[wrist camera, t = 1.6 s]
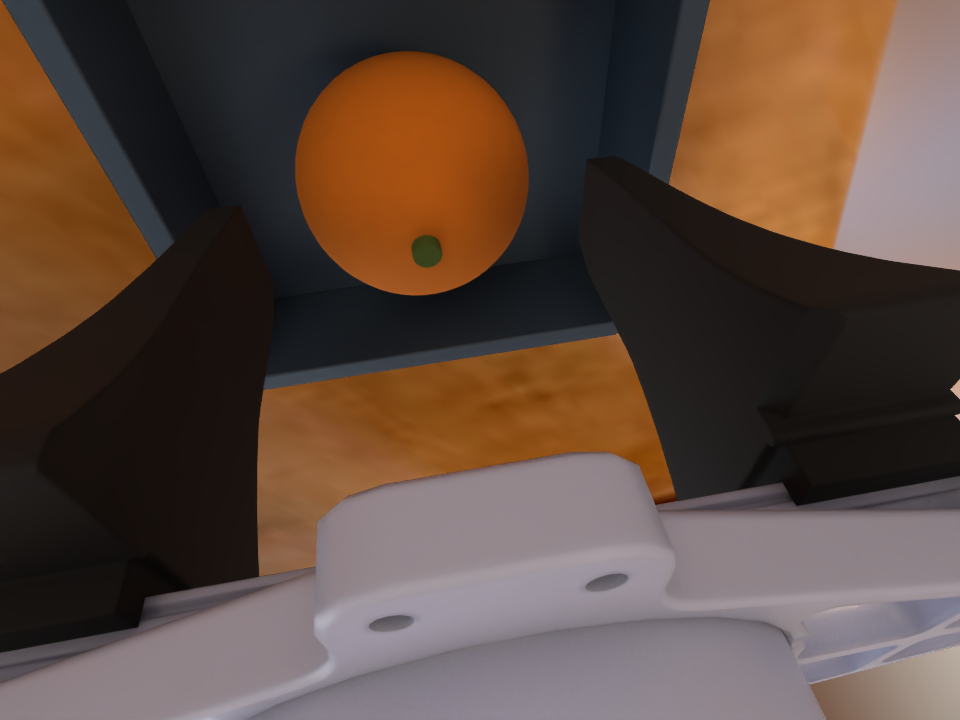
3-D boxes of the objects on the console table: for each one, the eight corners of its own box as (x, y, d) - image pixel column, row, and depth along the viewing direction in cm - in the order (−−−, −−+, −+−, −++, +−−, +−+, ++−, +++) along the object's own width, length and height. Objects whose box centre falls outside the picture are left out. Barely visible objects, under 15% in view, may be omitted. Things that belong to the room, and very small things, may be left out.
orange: (294, 200, 16) (279, 339, 12) (310, -14, 12) (295, 87, 8) (472, 230, 18) (508, 359, 14) (532, 51, 14) (603, 159, 10)
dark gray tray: (251, 309, 19) (237, 394, 16) (42, -126, 10) (-54, -89, 8) (598, 258, 20) (636, 332, 17) (657, -178, 11) (747, -161, 9)
